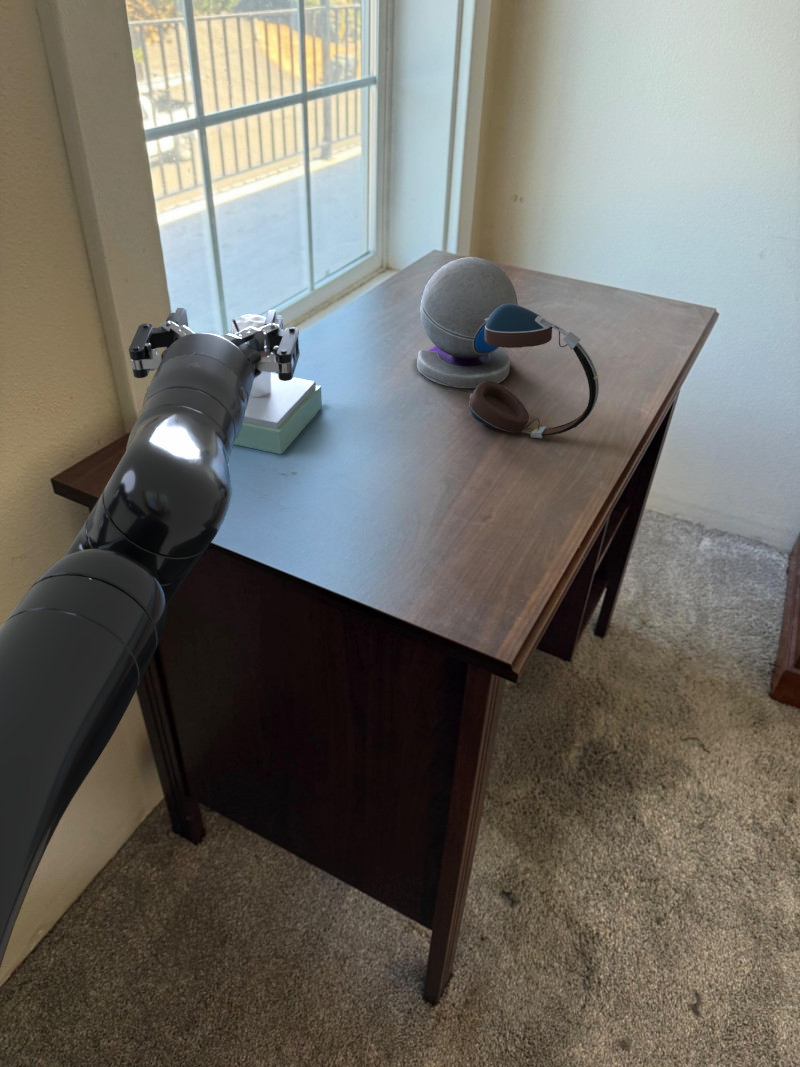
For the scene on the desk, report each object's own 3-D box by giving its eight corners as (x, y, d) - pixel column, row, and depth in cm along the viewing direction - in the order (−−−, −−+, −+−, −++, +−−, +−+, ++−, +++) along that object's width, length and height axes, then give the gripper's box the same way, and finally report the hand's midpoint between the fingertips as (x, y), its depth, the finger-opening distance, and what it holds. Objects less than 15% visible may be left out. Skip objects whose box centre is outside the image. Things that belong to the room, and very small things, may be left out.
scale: (185, 434, 88) (181, 405, 86) (234, 390, 97) (231, 363, 95) (281, 454, 85) (279, 425, 83) (322, 407, 94) (321, 380, 92)
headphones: (405, 404, 94) (569, 468, 87) (422, 288, 84) (609, 350, 78) (427, 385, 98) (585, 444, 92) (446, 272, 88) (624, 330, 82)
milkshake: (226, 396, 88) (216, 315, 82) (253, 379, 92) (246, 299, 85) (257, 406, 86) (250, 323, 80) (284, 388, 90) (279, 308, 84)
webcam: (473, 341, 112) (483, 239, 103) (528, 375, 104) (545, 267, 94) (400, 359, 106) (404, 252, 97) (452, 397, 98) (463, 284, 89)
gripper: (116, 438, 61) (160, 352, 74) (291, 441, 62) (304, 356, 75) (97, 353, 56) (147, 277, 69) (286, 357, 57) (301, 281, 70)
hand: (228, 318), depth 72 cm, fingers open, 8 cm apart
